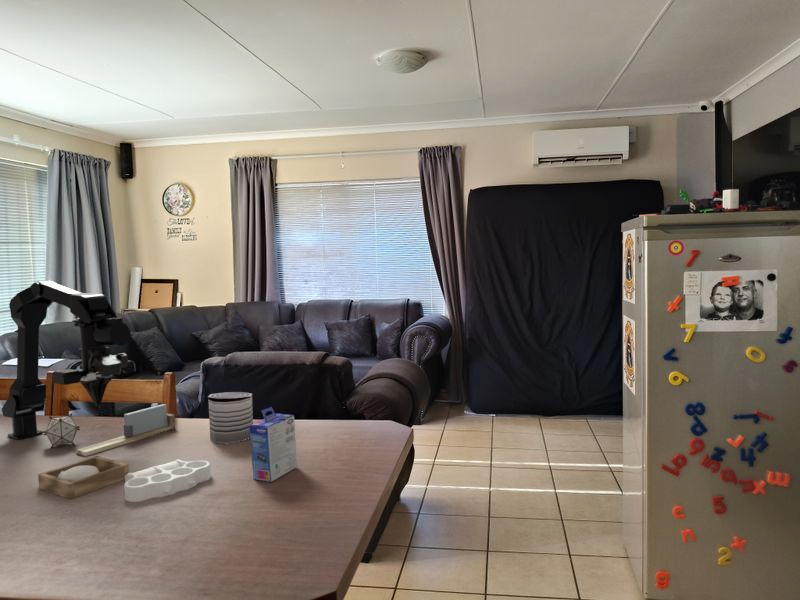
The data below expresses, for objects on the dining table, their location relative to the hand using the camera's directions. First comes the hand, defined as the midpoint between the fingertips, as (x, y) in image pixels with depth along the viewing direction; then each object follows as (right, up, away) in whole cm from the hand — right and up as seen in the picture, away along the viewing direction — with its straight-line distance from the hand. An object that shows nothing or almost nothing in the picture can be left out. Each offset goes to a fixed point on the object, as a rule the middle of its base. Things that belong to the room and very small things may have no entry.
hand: (97, 405), depth 149 cm
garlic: (+7, -14, -22) cm, 27 cm away
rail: (+4, -11, +8) cm, 14 cm away
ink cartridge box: (+49, -12, -19) cm, 54 cm away
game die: (-12, -12, +5) cm, 17 cm away
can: (+32, -10, +8) cm, 34 cm away
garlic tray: (+8, -13, -22) cm, 27 cm away
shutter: (+7, -9, +12) cm, 17 cm away
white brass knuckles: (+27, -13, -24) cm, 38 cm away
